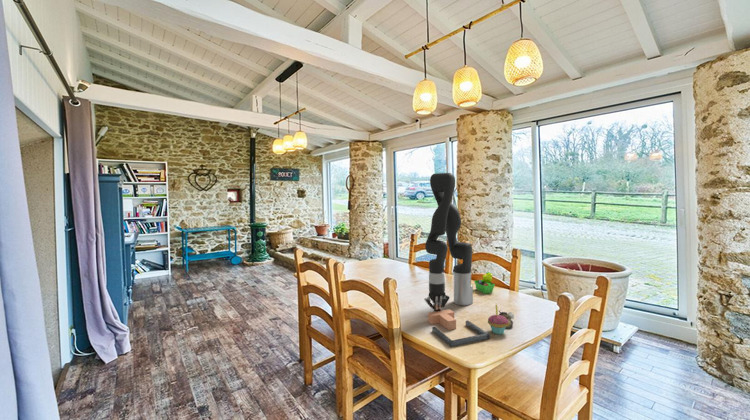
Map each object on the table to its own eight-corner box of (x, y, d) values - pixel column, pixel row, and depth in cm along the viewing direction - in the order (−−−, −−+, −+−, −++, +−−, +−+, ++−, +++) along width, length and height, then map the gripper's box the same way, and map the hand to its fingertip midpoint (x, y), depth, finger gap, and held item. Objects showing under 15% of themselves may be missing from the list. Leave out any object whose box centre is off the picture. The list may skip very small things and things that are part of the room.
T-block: (449, 317, 156) (449, 309, 156) (463, 327, 145) (463, 318, 145) (427, 321, 153) (427, 312, 152) (440, 331, 141) (440, 322, 141)
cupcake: (484, 328, 143) (484, 301, 143) (502, 326, 144) (502, 300, 143) (493, 336, 135) (493, 309, 134) (512, 335, 136) (512, 307, 135)
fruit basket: (473, 288, 199) (473, 270, 198) (486, 287, 201) (486, 269, 200) (484, 294, 188) (483, 275, 187) (497, 293, 190) (497, 274, 189)
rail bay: (468, 324, 147) (467, 320, 147) (489, 339, 133) (489, 334, 133) (432, 331, 142) (432, 326, 142) (451, 347, 127) (450, 342, 127)
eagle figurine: (493, 317, 152) (493, 321, 144) (502, 305, 151) (502, 308, 143) (508, 328, 149) (508, 333, 141) (517, 316, 148) (518, 320, 140)
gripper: (444, 277, 160) (445, 311, 161) (420, 280, 156) (421, 315, 157) (453, 281, 153) (453, 317, 154) (427, 285, 149) (428, 321, 150)
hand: (437, 316), depth 155 cm, fingers closed
